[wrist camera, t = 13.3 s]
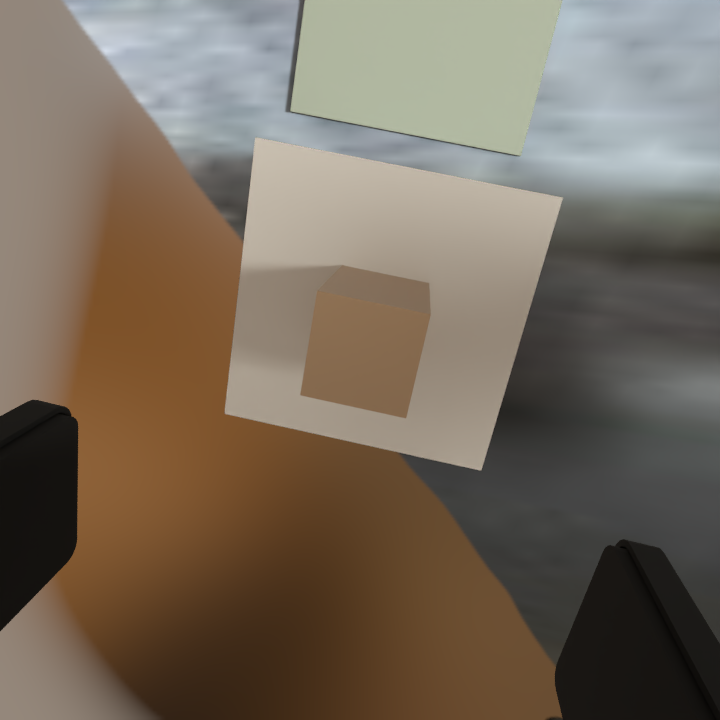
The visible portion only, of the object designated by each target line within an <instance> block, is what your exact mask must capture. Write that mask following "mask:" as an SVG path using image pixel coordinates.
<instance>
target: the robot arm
mask: <svg viewBox="0 0 720 720" xmlns="http://www.w3.org/2000/svg"><path fill="white" fill-rule="evenodd" d="M77 480H78V422H77V420H76V419H75V418H74V417H71V413H70V411H69V409H68V408H66V407H64V406H60V405H55V404H51V403H47V402H43V401H39V400H31V401H28V402H26V403H24V404H22V405H20V406H19V407H17V408H15V409H13V410H11V411H9V412H7V413H6V414H4V415H2V416H0V631H1V630H2V629H3V628H4V627H5V626H6V625H7V624H8V623H9V622H10V621H11V619H13V618H14V617H15V615H17V614H18V613H19V611H20V610H21V609H22V608H23V607H24V606H25V605H26V604H27V603H28V602H29V601H30V600H31V599H32V598H33V597H34V596H35V595H36V594H37V593H38V592H39V591H40V590H41V589H42V588H43V587H44V586H45V585H46V584H47V583H48V582H49V581H50V580H51V579H52V578H53V577H54V576H55V574H56V573H57V572H58V571H59V570H60V569H61V568H62V567H63V566H64V565H65V564H66V563H67V562H68V561H69V559H70V558H71V556H72V555H73V552H74V550H75V547H76V543H77V487H78V485H77V484H78V481H77ZM555 686H556V692H557V696H558V700H559V704H560V708H561V713H562V717H563V720H720V644H719V642H718V640H717V639H716V637H715V636H714V634H713V632H712V631H711V629H710V627H709V626H708V624H707V622H706V621H705V619H704V618H703V616H702V614H701V613H700V611H699V609H698V608H697V606H696V605H695V603H694V601H693V600H692V598H691V596H690V595H689V593H688V591H687V590H686V588H685V587H684V585H683V583H682V582H681V580H680V578H679V577H678V575H677V573H676V572H675V570H674V569H673V567H672V565H671V564H670V562H669V560H668V559H667V557H666V555H665V554H664V552H663V551H662V550H661V549H660V548H657V547H654V546H649V545H645V544H641V543H637V542H632V541H628V540H624V539H623V540H620V541H619V542H618V543H617V544H616V546H611V545H609V546H607V547H606V548H605V549H604V551H603V553H602V556H601V558H600V560H599V563H598V565H597V568H596V570H595V572H594V575H593V577H592V580H591V582H590V585H589V587H588V589H587V592H586V594H585V597H584V599H583V602H582V604H581V606H580V609H579V611H578V614H577V616H576V619H575V621H574V623H573V626H572V628H571V631H570V633H569V636H568V638H567V640H566V643H565V645H564V648H563V650H562V653H561V655H560V657H559V660H558V662H557V666H556V671H555Z"/></svg>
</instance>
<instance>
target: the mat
mask: <svg viewBox="0 0 720 720" xmlns="http://www.w3.org/2000/svg"><path fill="white" fill-rule="evenodd" d="M561 4H562V0H305V2H304V10H303V18H302V25H301V33H300V41H299V48H298V56H297V64H296V71H295V79H294V87H293V94H292V102H291V110H290V111H291V112H295V113H300V114H306V115H311V116H316V117H321V118H326V119H331V120H336V121H342V122H347V123H352V124H357V125H362V126H367V127H373V128H378V129H383V130H388V131H393V132H398V133H404V134H409V135H414V136H419V137H424V138H429V139H435V140H440V141H445V142H450V143H455V144H460V145H465V146H471V147H476V148H481V149H486V150H491V151H496V152H502V153H507V154H512V155H517V156H521V153H522V149H523V146H524V142H525V138H526V134H527V131H528V127H529V123H530V119H531V116H532V112H533V108H534V104H535V101H536V97H537V93H538V90H539V86H540V82H541V78H542V75H543V71H544V67H545V63H546V60H547V56H548V52H549V48H550V45H551V41H552V37H553V33H554V30H555V26H556V22H557V19H558V15H559V11H560V7H561Z"/></svg>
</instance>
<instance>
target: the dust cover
mask: <svg viewBox="0 0 720 720" xmlns="http://www.w3.org/2000/svg"><path fill="white" fill-rule="evenodd" d="M562 199H563V198H562V197H557V196H552V195H546V194H541V193H536V192H531V191H526V190H521V189H516V188H511V187H506V186H501V185H495V184H490V183H485V182H480V181H475V180H470V179H465V178H460V177H455V176H450V175H445V174H439V173H434V172H429V171H424V170H419V169H414V168H409V167H404V166H399V165H394V164H389V163H383V162H378V161H373V160H368V159H363V158H358V157H353V156H348V155H343V154H338V153H333V152H327V151H322V150H317V149H312V148H307V147H302V146H297V145H292V144H287V143H282V142H277V141H271V140H266V139H261V138H256V137H255V145H254V154H253V163H252V172H251V181H250V190H249V199H248V208H247V217H246V226H245V235H244V244H243V253H242V262H241V271H240V281H239V289H238V298H237V307H236V315H235V325H234V335H233V342H232V351H231V360H230V369H229V378H228V387H227V396H226V405H225V414H228V415H233V416H237V417H241V418H247V419H251V420H255V421H259V422H264V423H269V424H273V425H278V426H282V427H287V428H292V429H296V430H300V431H305V432H309V433H314V434H318V435H323V436H327V437H332V438H336V439H341V440H345V441H350V442H354V443H359V444H363V445H368V446H372V447H377V448H381V449H386V450H390V451H395V452H399V453H404V454H408V455H413V456H417V457H422V458H426V459H431V460H435V461H440V462H444V463H449V464H453V465H458V466H462V467H467V468H471V469H476V470H480V471H481V470H482V467H483V463H484V460H485V457H486V453H487V450H488V447H489V443H490V440H491V437H492V433H493V430H494V426H495V423H496V420H497V416H498V413H499V410H500V406H501V403H502V400H503V396H504V393H505V390H506V386H507V383H508V380H509V376H510V373H511V370H512V366H513V363H514V360H515V356H516V353H517V350H518V346H519V343H520V340H521V336H522V333H523V330H524V326H525V323H526V320H527V316H528V313H529V310H530V306H531V303H532V300H533V296H534V293H535V290H536V286H537V283H538V280H539V276H540V273H541V269H542V266H543V263H544V259H545V256H546V253H547V249H548V246H549V243H550V239H551V236H552V233H553V229H554V226H555V223H556V219H557V216H558V213H559V209H560V206H561V203H562Z"/></svg>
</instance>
